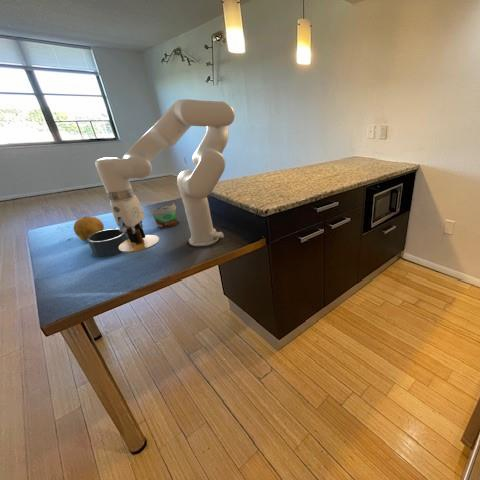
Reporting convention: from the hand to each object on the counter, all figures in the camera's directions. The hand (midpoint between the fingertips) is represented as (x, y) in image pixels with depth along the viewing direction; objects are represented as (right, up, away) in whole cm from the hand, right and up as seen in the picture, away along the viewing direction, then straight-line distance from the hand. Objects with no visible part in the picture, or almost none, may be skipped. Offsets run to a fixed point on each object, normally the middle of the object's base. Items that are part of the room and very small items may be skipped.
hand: (138, 239), depth 101 cm
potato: (-35, +1, +20) cm, 40 cm away
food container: (-6, +7, +33) cm, 34 cm away
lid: (0, -2, +1) cm, 2 cm away
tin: (-17, -5, +9) cm, 20 cm away
